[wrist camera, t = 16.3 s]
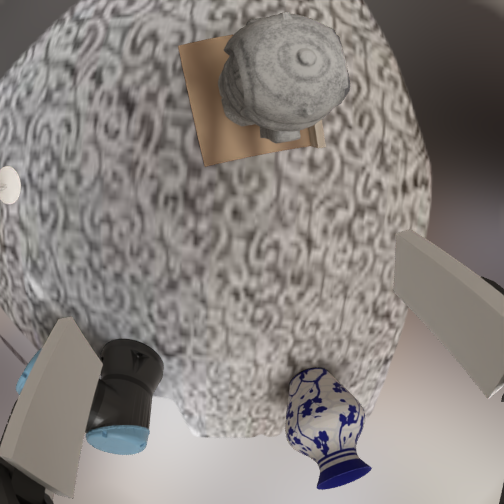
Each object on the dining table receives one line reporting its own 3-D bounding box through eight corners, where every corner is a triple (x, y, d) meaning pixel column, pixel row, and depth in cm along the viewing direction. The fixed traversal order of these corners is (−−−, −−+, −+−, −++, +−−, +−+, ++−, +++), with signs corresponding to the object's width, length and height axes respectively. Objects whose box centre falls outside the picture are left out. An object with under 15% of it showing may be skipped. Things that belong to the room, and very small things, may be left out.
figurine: (273, 45, 35) (340, -23, 12) (291, 130, 41) (378, 146, 19) (209, 56, 34) (207, -17, 12) (229, 142, 41) (251, 168, 18)
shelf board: (205, 166, 43) (204, 170, 39) (178, 47, 34) (175, 40, 30) (317, 144, 43) (326, 146, 39) (295, 29, 34) (303, 22, 30)
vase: (341, 346, 64) (392, 448, 38) (344, 387, 73) (382, 472, 46) (266, 371, 65) (293, 484, 38) (282, 408, 73) (305, 499, 46)
